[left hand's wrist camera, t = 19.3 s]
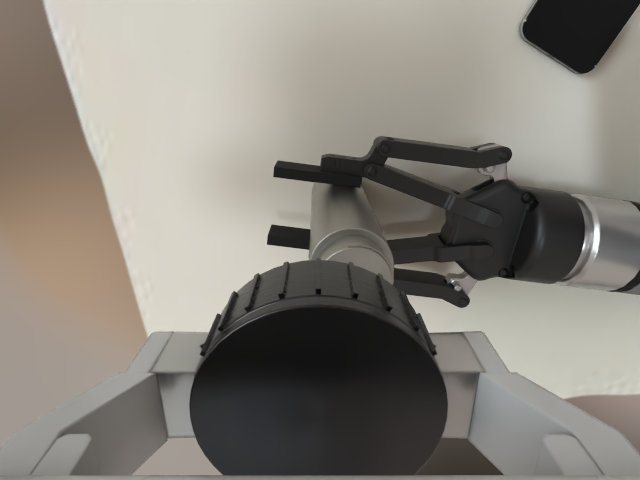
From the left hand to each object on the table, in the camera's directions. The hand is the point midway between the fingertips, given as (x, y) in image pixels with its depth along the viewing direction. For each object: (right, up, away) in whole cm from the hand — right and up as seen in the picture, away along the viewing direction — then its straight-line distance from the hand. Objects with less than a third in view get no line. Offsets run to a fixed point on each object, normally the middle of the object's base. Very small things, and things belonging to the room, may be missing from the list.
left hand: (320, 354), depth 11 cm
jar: (+2, +7, +28) cm, 29 cm away
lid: (0, -1, -2) cm, 2 cm away
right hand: (-4, +6, +22) cm, 23 cm away
